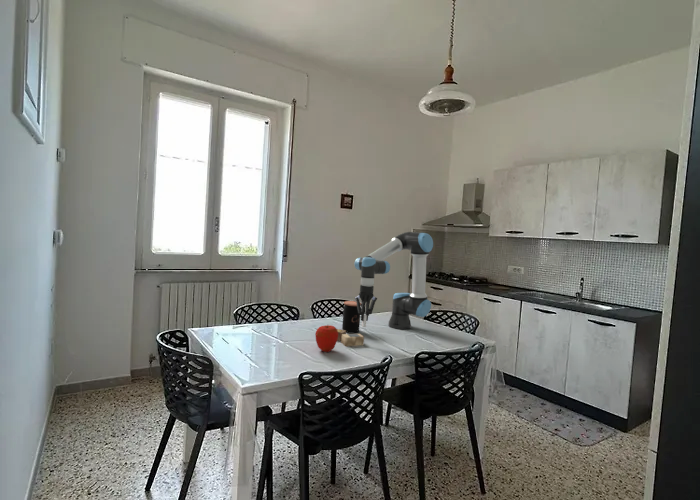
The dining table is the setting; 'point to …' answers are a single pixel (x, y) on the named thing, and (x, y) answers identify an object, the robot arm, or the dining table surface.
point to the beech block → (352, 339)
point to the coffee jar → (351, 317)
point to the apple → (326, 337)
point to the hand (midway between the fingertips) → (363, 326)
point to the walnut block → (340, 334)
